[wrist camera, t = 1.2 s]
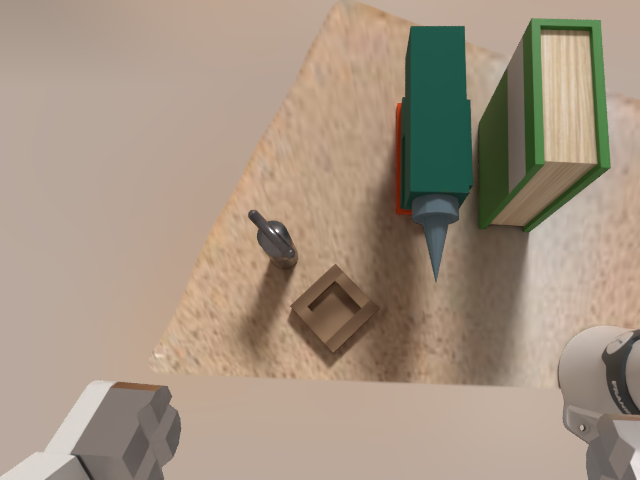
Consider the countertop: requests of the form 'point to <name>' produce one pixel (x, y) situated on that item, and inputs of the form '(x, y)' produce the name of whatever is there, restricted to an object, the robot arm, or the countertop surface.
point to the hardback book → (544, 125)
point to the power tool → (434, 134)
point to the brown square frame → (334, 308)
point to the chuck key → (275, 241)
